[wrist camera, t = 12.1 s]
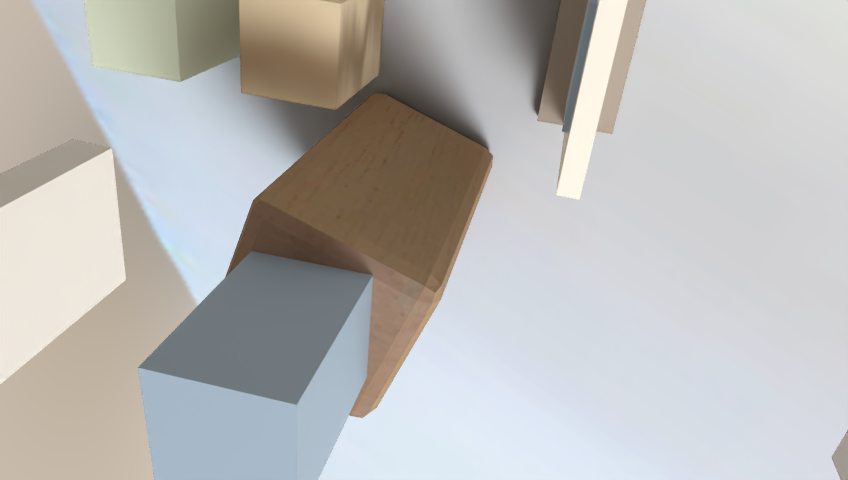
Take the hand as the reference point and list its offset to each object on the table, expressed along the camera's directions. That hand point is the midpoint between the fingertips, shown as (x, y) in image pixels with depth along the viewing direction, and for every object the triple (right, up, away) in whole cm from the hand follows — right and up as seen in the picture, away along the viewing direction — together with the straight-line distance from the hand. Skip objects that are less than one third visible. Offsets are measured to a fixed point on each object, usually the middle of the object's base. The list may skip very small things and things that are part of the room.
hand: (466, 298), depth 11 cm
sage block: (-16, +18, +36) cm, 43 cm away
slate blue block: (-6, -3, +21) cm, 22 cm away
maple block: (-6, +16, +35) cm, 39 cm away
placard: (+10, +14, +31) cm, 36 cm away
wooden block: (-2, +6, +39) cm, 39 cm away
